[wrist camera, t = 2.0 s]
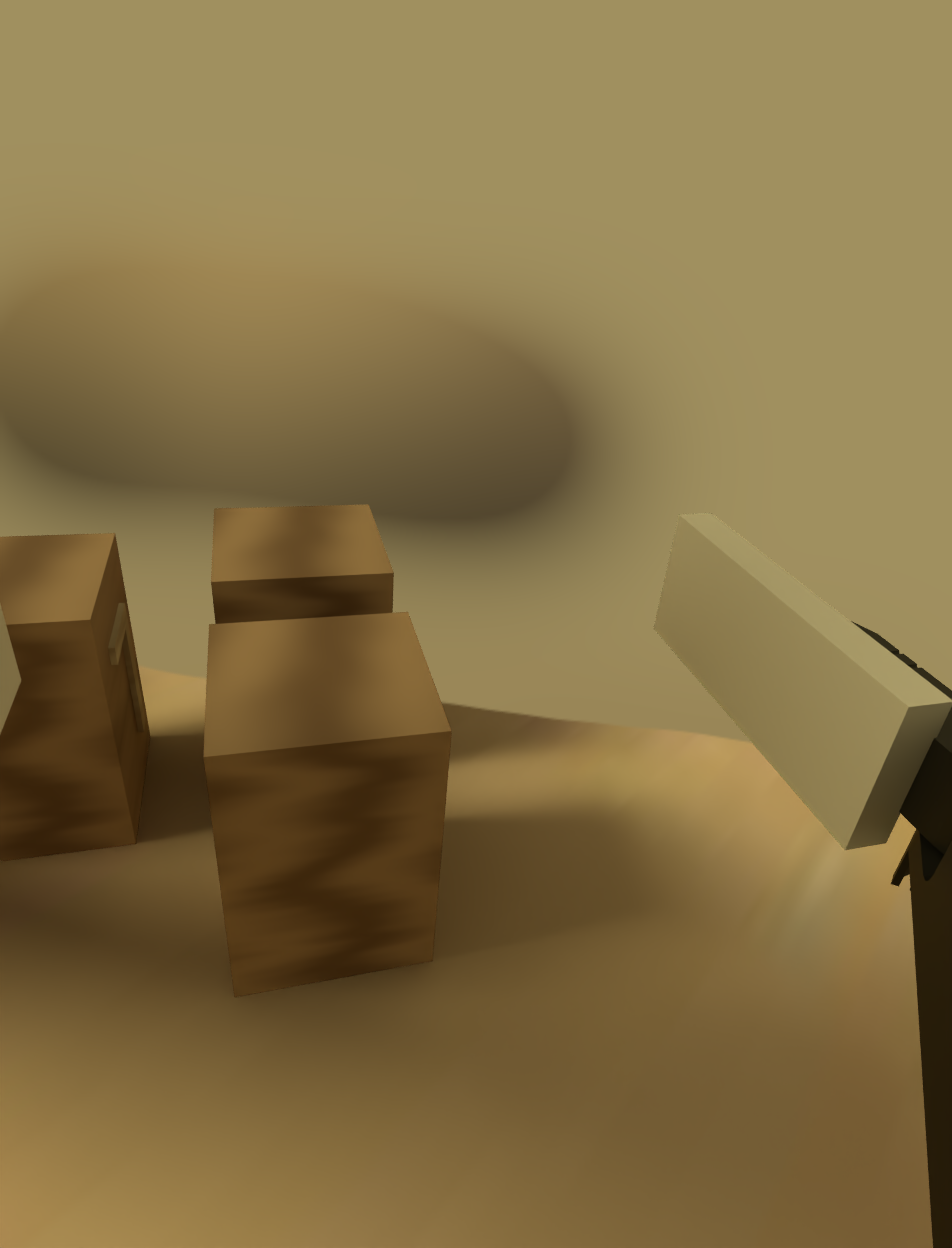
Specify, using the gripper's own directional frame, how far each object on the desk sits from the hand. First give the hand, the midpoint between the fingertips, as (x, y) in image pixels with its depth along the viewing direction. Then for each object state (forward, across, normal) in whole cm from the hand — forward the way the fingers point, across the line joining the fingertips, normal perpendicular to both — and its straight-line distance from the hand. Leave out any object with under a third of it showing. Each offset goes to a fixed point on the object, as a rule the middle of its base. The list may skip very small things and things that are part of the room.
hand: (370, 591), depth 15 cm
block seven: (+24, -14, -25) cm, 38 cm away
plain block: (+14, 0, -26) cm, 29 cm away
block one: (+27, 0, -25) cm, 37 cm away
